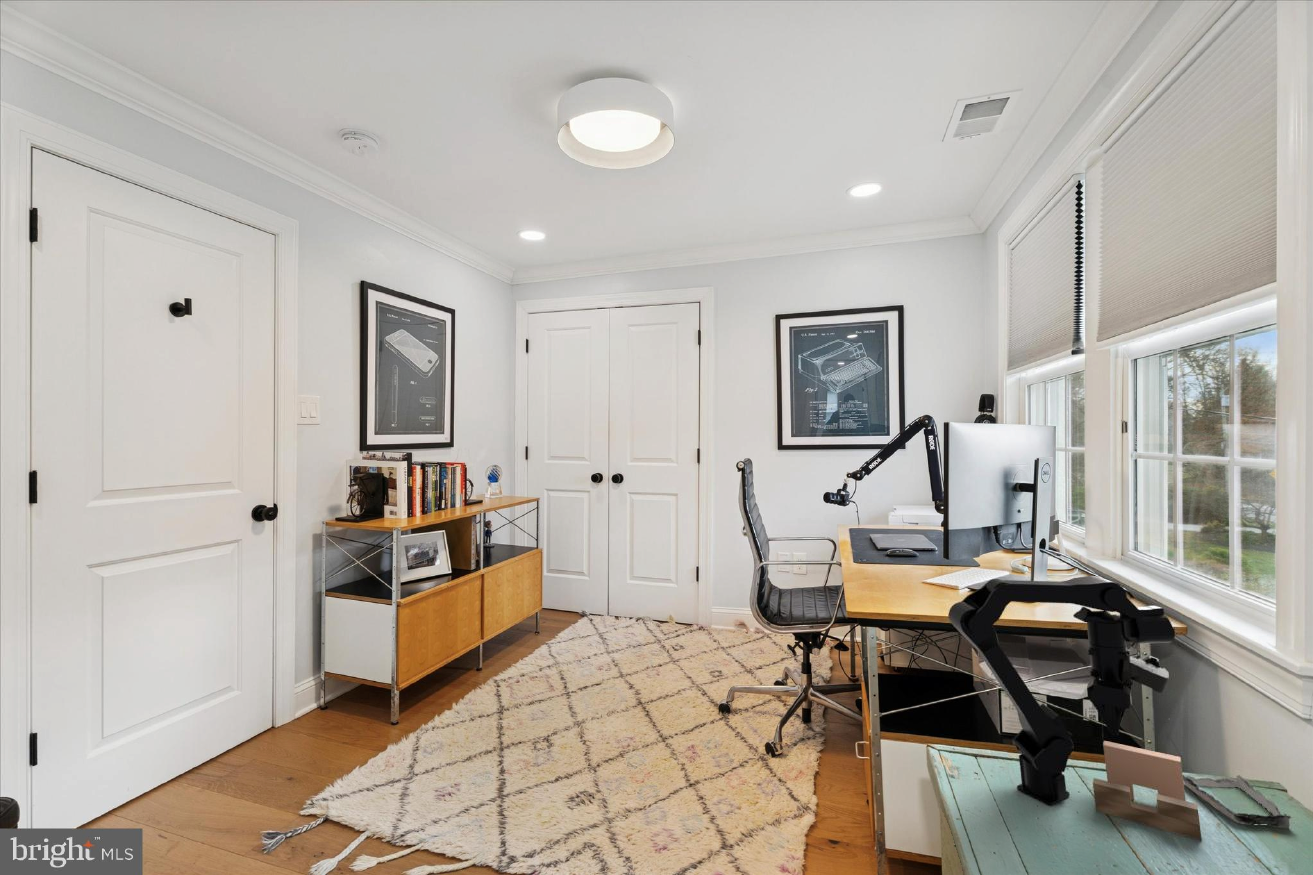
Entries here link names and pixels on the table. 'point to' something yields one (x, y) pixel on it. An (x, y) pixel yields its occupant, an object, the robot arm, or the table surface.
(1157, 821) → the cross rail
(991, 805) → the table surface
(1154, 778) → the crosspiece
